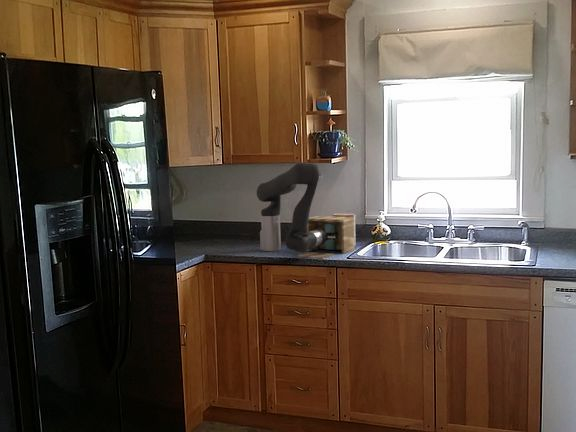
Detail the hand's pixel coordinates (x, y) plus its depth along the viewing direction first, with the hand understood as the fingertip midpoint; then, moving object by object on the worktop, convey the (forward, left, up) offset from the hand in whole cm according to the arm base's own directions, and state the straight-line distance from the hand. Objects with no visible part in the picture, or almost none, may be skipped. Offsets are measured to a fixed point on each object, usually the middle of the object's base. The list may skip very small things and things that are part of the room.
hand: (331, 233), depth 344 cm
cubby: (0, -2, -8) cm, 8 cm away
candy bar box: (0, +13, -8) cm, 15 cm away
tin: (0, -2, -7) cm, 7 cm away
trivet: (0, -17, -8) cm, 19 cm away
